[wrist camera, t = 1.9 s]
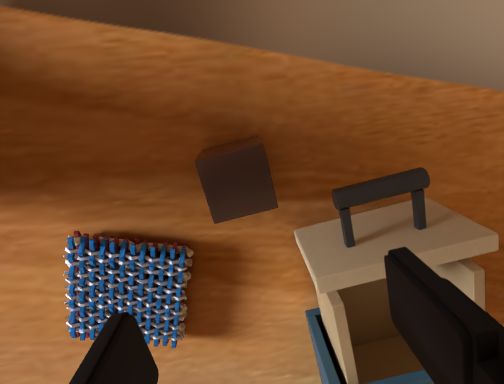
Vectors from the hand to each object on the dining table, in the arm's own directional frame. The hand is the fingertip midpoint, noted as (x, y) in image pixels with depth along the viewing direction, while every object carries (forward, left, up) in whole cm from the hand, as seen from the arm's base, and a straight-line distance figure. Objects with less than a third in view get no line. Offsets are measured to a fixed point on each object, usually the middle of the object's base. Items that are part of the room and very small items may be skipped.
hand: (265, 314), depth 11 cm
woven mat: (+6, -12, -15) cm, 20 cm away
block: (-2, 0, -15) cm, 15 cm away
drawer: (+8, +9, -14) cm, 19 cm away
